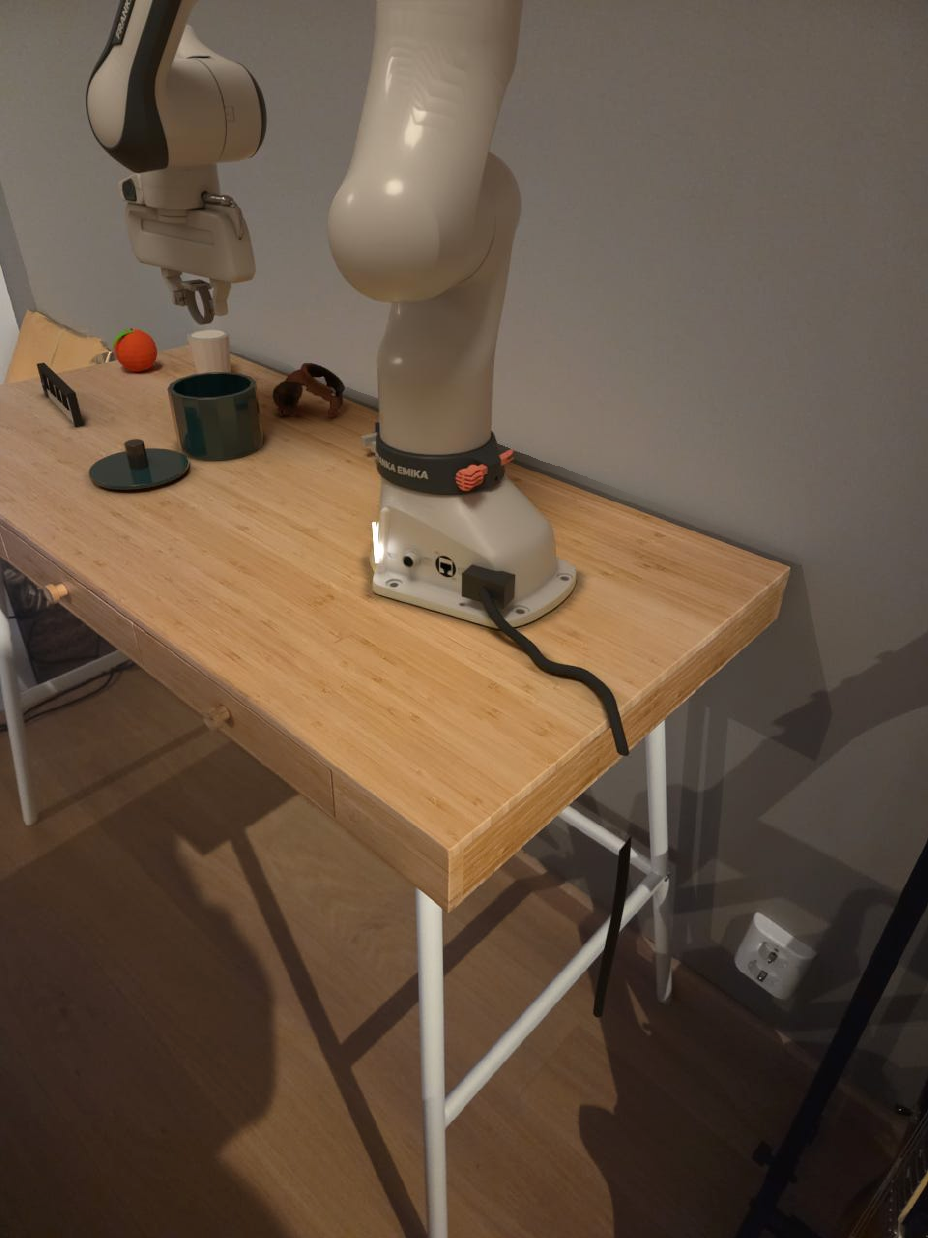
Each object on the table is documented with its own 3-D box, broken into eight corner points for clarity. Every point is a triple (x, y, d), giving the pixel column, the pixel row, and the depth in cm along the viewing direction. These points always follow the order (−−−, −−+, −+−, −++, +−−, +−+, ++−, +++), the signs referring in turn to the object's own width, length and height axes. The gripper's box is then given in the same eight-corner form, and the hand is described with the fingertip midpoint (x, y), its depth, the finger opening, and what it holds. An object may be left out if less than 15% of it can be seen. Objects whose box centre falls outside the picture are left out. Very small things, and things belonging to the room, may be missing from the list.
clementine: (132, 380, 139) (123, 337, 135) (104, 373, 142) (95, 331, 138) (169, 368, 145) (161, 326, 141) (141, 362, 148) (133, 321, 144)
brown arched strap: (297, 401, 133) (320, 357, 129) (338, 438, 131) (362, 394, 127) (246, 403, 123) (269, 355, 119) (290, 443, 121) (315, 396, 117)
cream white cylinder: (229, 382, 139) (223, 339, 135) (188, 381, 139) (181, 339, 135) (239, 369, 145) (233, 328, 141) (199, 369, 145) (193, 328, 141)
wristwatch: (182, 319, 108) (176, 279, 105) (203, 316, 110) (197, 276, 107) (201, 329, 104) (195, 288, 101) (222, 326, 106) (216, 285, 103)
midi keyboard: (44, 394, 133) (35, 363, 130) (52, 393, 133) (44, 362, 130) (74, 427, 121) (66, 393, 118) (84, 425, 122) (75, 392, 119)
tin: (280, 442, 117) (273, 383, 112) (214, 467, 109) (204, 405, 105) (228, 424, 123) (219, 366, 118) (162, 446, 115) (150, 386, 111)
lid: (208, 471, 108) (203, 440, 106) (126, 502, 100) (118, 469, 98) (153, 448, 115) (147, 418, 112) (71, 476, 107) (62, 444, 104)
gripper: (260, 194, 95) (273, 318, 103) (153, 179, 105) (173, 293, 113) (215, 199, 91) (233, 328, 99) (109, 183, 101) (132, 301, 109)
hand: (200, 309), depth 106 cm, fingers closed on wristwatch, 6 cm apart
